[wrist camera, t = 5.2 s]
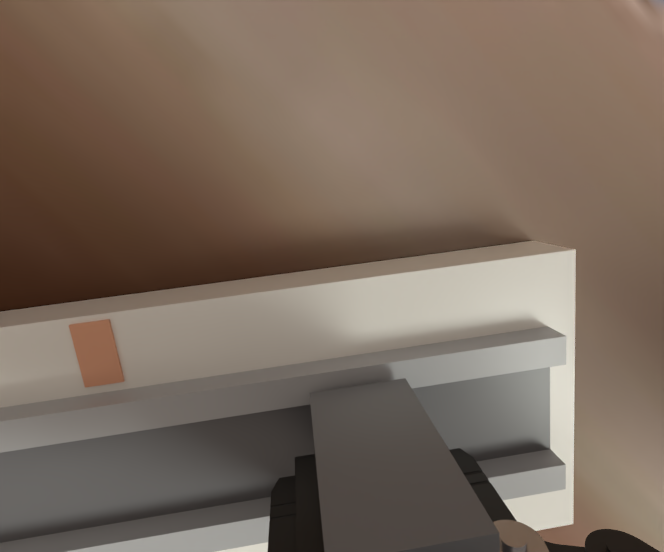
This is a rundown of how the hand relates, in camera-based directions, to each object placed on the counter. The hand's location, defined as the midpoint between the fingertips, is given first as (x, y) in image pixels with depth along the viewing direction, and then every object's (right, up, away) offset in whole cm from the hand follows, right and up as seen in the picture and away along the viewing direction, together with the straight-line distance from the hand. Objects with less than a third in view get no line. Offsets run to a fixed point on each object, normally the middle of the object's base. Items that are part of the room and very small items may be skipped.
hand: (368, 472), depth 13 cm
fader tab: (0, 0, +2) cm, 2 cm away
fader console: (-4, 0, +4) cm, 6 cm away
